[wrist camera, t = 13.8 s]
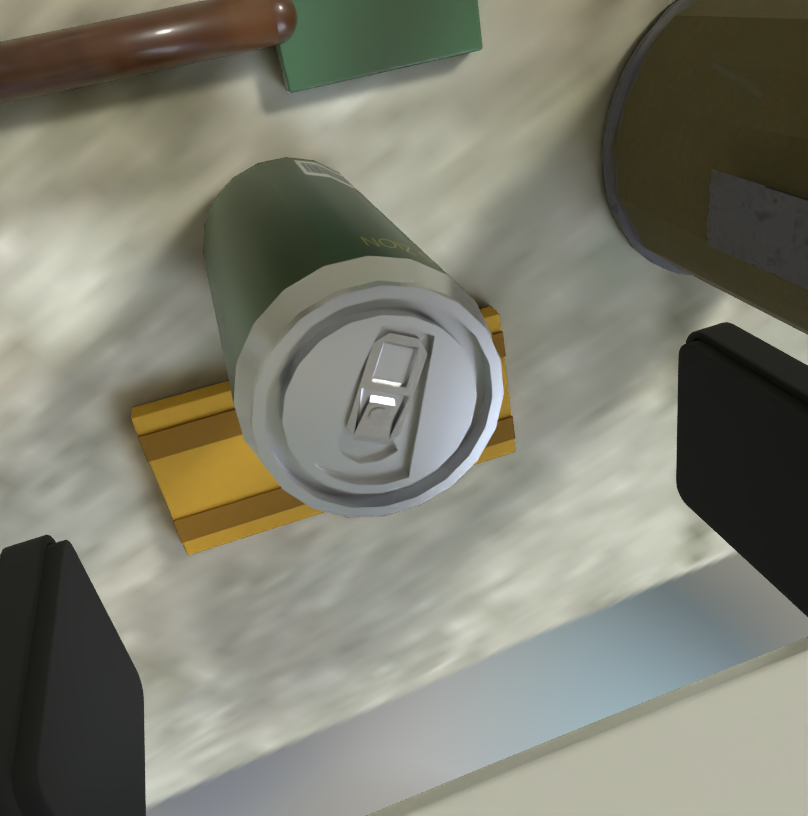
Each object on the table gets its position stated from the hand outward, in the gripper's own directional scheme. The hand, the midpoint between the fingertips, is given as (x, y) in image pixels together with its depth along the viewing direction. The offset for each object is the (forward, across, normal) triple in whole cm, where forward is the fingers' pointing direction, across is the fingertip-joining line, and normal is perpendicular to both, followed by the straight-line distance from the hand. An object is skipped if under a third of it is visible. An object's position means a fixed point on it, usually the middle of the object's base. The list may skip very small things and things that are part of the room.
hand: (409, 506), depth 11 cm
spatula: (+16, 0, -6) cm, 17 cm away
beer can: (+16, -1, 0) cm, 16 cm away
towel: (+15, -1, +8) cm, 17 cm away
